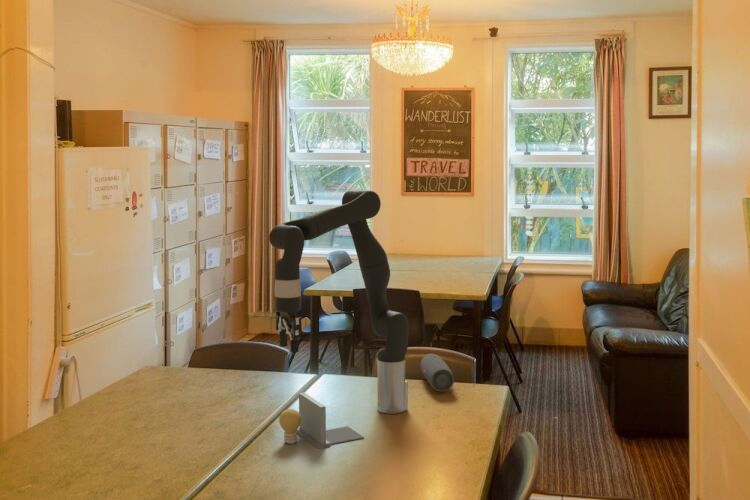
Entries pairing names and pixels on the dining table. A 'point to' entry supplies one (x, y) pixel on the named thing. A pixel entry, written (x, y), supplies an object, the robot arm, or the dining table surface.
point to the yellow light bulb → (290, 424)
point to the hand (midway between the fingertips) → (288, 349)
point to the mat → (342, 435)
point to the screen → (312, 421)
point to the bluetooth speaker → (437, 372)
